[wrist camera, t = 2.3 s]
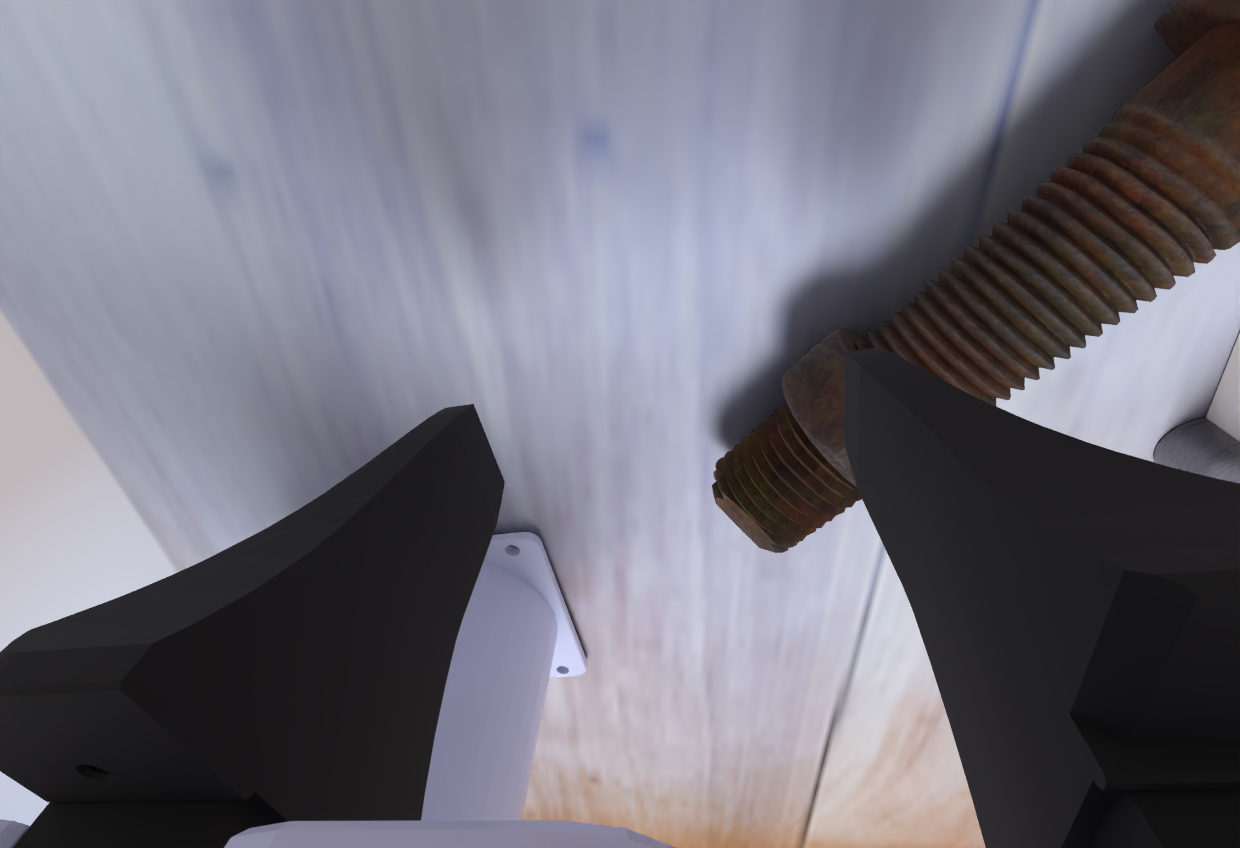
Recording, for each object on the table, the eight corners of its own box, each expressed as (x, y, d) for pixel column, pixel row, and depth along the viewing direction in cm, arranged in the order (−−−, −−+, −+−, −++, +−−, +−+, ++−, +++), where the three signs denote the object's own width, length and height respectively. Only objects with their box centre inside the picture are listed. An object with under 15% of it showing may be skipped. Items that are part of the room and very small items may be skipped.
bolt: (720, 423, 20) (1206, -18, 12) (823, 538, 19) (1413, 142, 11) (644, 475, 15) (1379, -208, 7) (778, 632, 14) (1763, 49, 7)
